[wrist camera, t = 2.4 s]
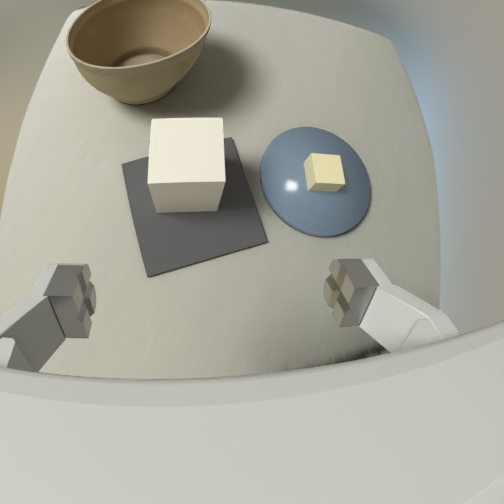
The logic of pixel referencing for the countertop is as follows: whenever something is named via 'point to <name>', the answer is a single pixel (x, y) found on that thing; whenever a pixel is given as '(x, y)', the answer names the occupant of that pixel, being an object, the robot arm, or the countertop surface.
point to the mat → (193, 220)
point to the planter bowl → (138, 45)
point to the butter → (324, 172)
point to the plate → (295, 185)
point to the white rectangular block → (186, 164)
